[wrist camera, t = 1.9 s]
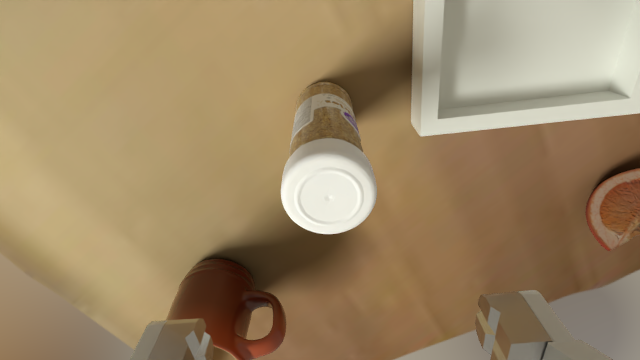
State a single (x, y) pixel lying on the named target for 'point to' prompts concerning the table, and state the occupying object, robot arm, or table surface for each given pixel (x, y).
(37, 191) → the table surface
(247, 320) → the mug
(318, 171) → the sprinkles bottle
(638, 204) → the fruit slice
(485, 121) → the tray
